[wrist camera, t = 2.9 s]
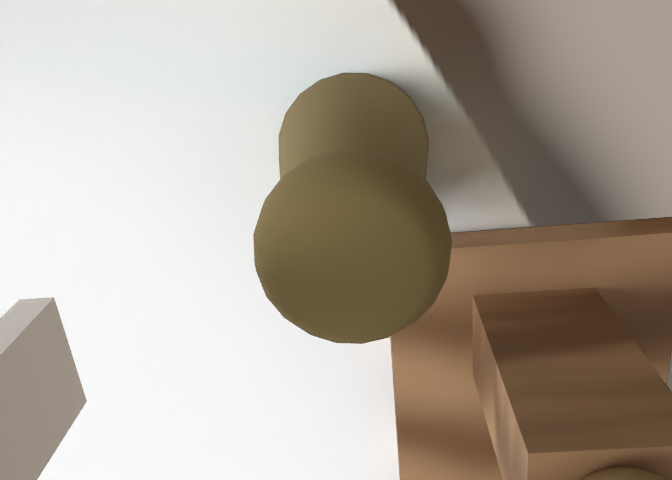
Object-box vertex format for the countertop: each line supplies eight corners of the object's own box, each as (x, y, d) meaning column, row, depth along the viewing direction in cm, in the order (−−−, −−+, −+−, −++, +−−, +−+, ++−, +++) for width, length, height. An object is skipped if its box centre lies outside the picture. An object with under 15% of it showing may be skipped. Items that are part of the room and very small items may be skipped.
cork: (392, 44, 23) (421, 110, 13) (451, 183, 25) (514, 331, 15) (251, 113, 24) (178, 222, 14) (319, 239, 26) (297, 411, 16)
